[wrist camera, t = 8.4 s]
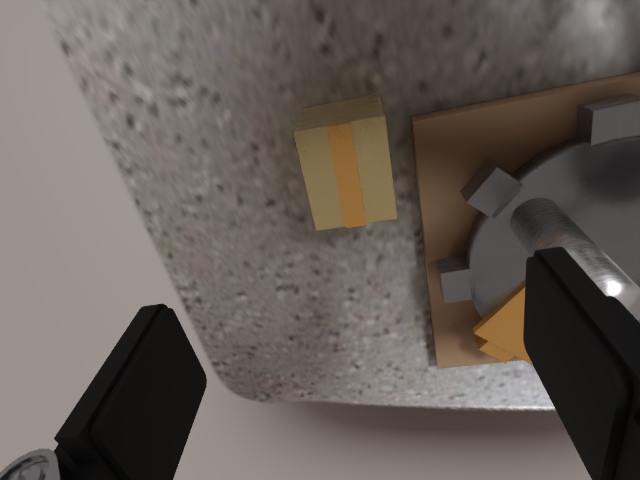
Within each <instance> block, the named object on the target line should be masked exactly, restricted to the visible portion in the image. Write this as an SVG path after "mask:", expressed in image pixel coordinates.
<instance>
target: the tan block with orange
mask: <svg viewBox="0 0 640 480" xmlns="http://www.w3.org/2000/svg"><path fill="white" fill-rule="evenodd" d="M293 134H294V138H295V142H296V147H297V151H298V155H299V160H300V164H301V168H302V173H303V177H304V181H305V185H306V190H307V194H308V198H309V203H310V207H311V211H312V215H313V220H314V224H315V228H316V231H318V230H325V229H332V228H339V227H346V228H352V227H359V226H366V223H373V222H380V221H387V220H394V219H397V212H396V203H395V195H394V186H393V178H392V169H391V161H390V152H389V144H388V135H387V127H386V118H385V113H384V110H383V107H382V104H381V100H380V97H379V94H374V95H369V96H364V97H359V98H353V99H348V100H343V101H338V102H333V103H328V104H322V105H317V106H312V107H307V108H303V109H302V111H301V114H300V116H299V119H298V121H297V124H296V126H295V129H294V131H293Z"/></svg>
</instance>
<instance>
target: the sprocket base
mask: <svg viewBox="0 0 640 480" xmlns="http://www.w3.org/2000/svg"><path fill="white" fill-rule="evenodd" d="M625 93H632V94H635V95H638V96H640V71H638V72H633V73H628V74H623V75H618V76H613V77H608V78H603V79H598V80H593V81H588V82H583V83H578V84H573V85H568V86H563V87H558V88H552V89H547V90H542V91H537V92H532V93H527V94H522V95H517V96H512V97H507V98H502V99H497V100H492V101H487V102H482V103H477V104H472V105H467V106H461V107H456V108H451V109H446V110H441V111H436V112H431V113H426V114H421V115H416V116H411V117H410V119H411V129H412V138H413V148H414V158H415V167H416V177H417V187H418V196H419V206H420V216H421V225H422V235H423V245H424V254H425V264H426V274H427V283H428V293H429V303H430V312H431V322H432V332H433V341H434V351H435V359H436V363H437V367H438V369H439V368H448V367H458V366H468V365H477V364H487V363H497V362H502V361H500V360H498V359H496V358H494V357H492V356H490V355H488V354H487V353H485V352H483V351H481V350H479V349H478V346H477V343H476V341H475V338H474V335H473V333H474V332H473V329H472V328H474V327H475V326H476V325H477V324H478V323H479V322H480V321H481V320H482V318H481V316H480V314H479V313H478V311H477V309H476V307H475V305H474V302H473V300H472V299H471V300H465V301H458V302H452V303H445V304H444V301H443V297H442V294H441V291H440V286H439V279H438V272H437V264H436V260H438V259H444V258H450V257H455V256H461V255H464V250H465V244H466V240H467V237H468V234H469V231H470V228H471V226H472V224H473V222H474V220H475V218H476V216H477V214H478V213H479V210H478V209H476V208H475V207H473V206H471V205H470V204H468V203H466V201H465V199H464V197H463V196H462V194H461V192H460V190H461V189H462V188H463V187H464V186H465V185H466V183H467V182H468V181H469V180H470V179H471V178H472V176H473V175H474V174H475V173H476V172H477V171H478V169H479V168H480V167H481V166H482V165H483V164H484V162H485V161H486V160H487V159H488V158H490V159H492V160H493V161H495V162H496V163H498V164H499V165H501V166H503V167H504V168H506V169H507V170H509V171H510V172H512V173H513V172H514V171H516V170H517V169H518V168H519V167H521V166H522V165H523V164H524V163H526V162H528V161H529V160H531V159H532V158H534V157H535V156H537V155H538V154H540V153H542V152H543V151H545V150H547V149H549V148H551V147H553V146H555V145H557V144H559V143H561V142H564V141H566V140H569V139H572V138H574V137H576V132H577V114H578V104H581V103H585V102H590V101H594V100H599V99H603V98H608V97H612V96H617V95H621V94H625ZM516 360H523V359H521V358H519V357H518V356H516V355H515V356H514V357H513V358H511V359H510V360H509V361H516Z"/></svg>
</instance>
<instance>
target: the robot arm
mask: <svg viewBox="0 0 640 480" xmlns="http://www.w3.org/2000/svg"><path fill="white" fill-rule="evenodd" d="M523 341H524V346H525V349H526V352H527V354H528V356H529V358H530V360H531V362H532V364H533V366H534V368H535V370H536V372H537V374H538V376H539V378H540V379H541V381H542V383H543V385H544V387H545V389H546V391H547V393H548V395H549V397H550V399H551V401H552V403H553V405H554V407H555V409H556V411H557V413H558V414H559V416H560V418H561V420H562V422H563V424H564V426H565V428H566V430H567V432H568V434H569V436H570V438H571V440H572V442H573V443H574V446H575V448H576V449H577V451H578V453H579V455H580V457H581V459H582V461H583V463H584V465H585V467H586V469H587V471H588V473H589V475H590V477H591V478H592V480H640V323H639V322H638V321H637V319H636V318H635V317H634V316H633V315H632V314H631V313H630V312H629V311H628V310H627V308H626V307H625V306H624V305H623V304H622V303H621V302H620V301H619V300H618V299H617V298H615V297H613V296H606V295H605V294H604V293H603V292H602V291H601V289H600V288H599V287H598V286H597V285H596V284H595V283H594V281H593V280H592V279H591V278H590V277H589V276H588V275H587V274H586V272H585V271H584V270H583V269H582V268H581V267H580V266H579V264H578V263H577V262H576V261H575V260H574V259H573V258H572V257H571V255H570V254H569V253H568V252H567V251H566V250H565V249H564V248H563V247H553V248H546V249H539V250H536V251H535V252H534V255H533V256H532V257H528V258H527V260H526V280H525V305H524V330H523ZM206 381H207V379H206V375H205V372H204V370H203V368H202V366H201V364H200V362H199V360H198V358H197V356H196V354H195V352H194V350H193V348H192V346H191V344H190V342H189V340H188V338H187V336H186V334H185V332H184V330H183V328H182V326H181V324H180V322H179V320H178V318H177V316H176V314H175V312H174V311H173V309H171V308H168V307H167V306H166V305H164V304H158V305H150V306H144V307H142V308H141V309H140V310H139V312H138V313H137V314H136V316H135V317H134V319H133V320H132V322H131V323H130V325H129V326H128V328H127V329H126V331H125V332H124V334H123V335H122V337H121V338H120V340H119V341H118V343H117V344H116V346H115V347H114V349H113V350H112V352H111V354H110V355H109V356H108V358H107V359H106V361H105V362H104V364H103V365H102V367H101V368H100V370H99V372H98V373H97V374H96V376H95V377H94V379H93V381H92V382H91V384H90V385H89V387H88V388H87V390H86V391H85V393H84V394H83V396H82V397H81V399H80V400H79V402H78V403H77V405H76V406H75V408H74V409H73V411H72V412H71V414H70V415H69V417H68V418H67V420H66V421H65V423H64V424H63V426H62V427H61V429H60V430H59V432H58V433H57V435H56V436H55V438H54V439H55V440H56V441H57V442H58V446H57V447H56V449H55V450H54V451H52V450H49V449H38V450H34V451H31V452H29V453H27V454H25V455H23V456H21V457H19V458H17V459H16V460H15V461H13V462H12V463H10V464H9V465H8V466H7V467H6V468H5V469H4V470H2V472H0V480H173V478H174V475H175V472H176V469H177V467H178V464H179V461H180V458H181V455H182V453H183V450H184V447H185V444H186V442H187V439H188V435H189V433H190V430H191V428H192V424H193V422H194V419H195V416H196V413H197V411H198V408H199V405H200V402H201V400H202V397H203V394H204V391H205V388H206V383H207V382H206Z"/></svg>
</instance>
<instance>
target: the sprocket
mask: <svg viewBox="0 0 640 480" xmlns="http://www.w3.org/2000/svg"><path fill="white" fill-rule="evenodd" d="M460 192H461V194H462V196H463V197H464V199H465V201H466V203H468V204H470V205H471V206H473V207H475V208H476V209H478V210H479V213H478V214H477V216H476V218H475V220H474V222H473V224H472V226H471V228H470V231H469V234H468V237H467V240H466V244H465V250H464V255H461V256H455V257H450V258H444V259H438V260H436V264H437V272H438V279H439V286H440V291H441V294H442V297H443V301H444V304H445V303H452V302H458V301H465V300H471V299H472V300H473V302H474V305H475V307H476V309H477V311H478V313H479V314H480V316H481V318H482V320H481V321H480V322H479V323H478V324H477V325H476V326H475V327H474V328H472V329H473V332H474V333H473V335H474V338H475V341H476V343H477V346H478V349H479V350H481V351H483V352H485V353H487V354H488V355H490V356H492V357H494V358H496V359H498V360H500V361H502V362H504V363H506V362H508V361H509V360H510V359H511V358H513V357H514V356H515V355H516V356H518V357H519V358H521V359H523V360H525V361H527V362H529V363H531V364H532V362H531V360H530V358H529V356H528V354H527V352H526V349H525V346H524V341H523V330H524V305H525V280H526V260H527V258H528V257H532V256H533V255H534V252H535V251H536V250H539V249H546V248H553V247H563V248H564V249H565V250H566V251H567V252H568V253H569V254H570V255H571V257H572V258H573V259H574V260H575V261H576V262H577V263H578V264H579V266H580V267H581V268H582V269H583V270H584V271H585V272H586V274H587V275H588V276H589V277H590V278H591V279H592V280H593V281H594V283H595V284H596V285H597V286H598V287H599V288H600V289H601V291H602V292H603V293H604V294H605V295H606V296H613V297H615V298H617V299H618V300H619V301H620V302H621V303H622V304H623V305H624V306H625V307H626V308H627V310H628V311H629V312H630V313H631V314H632V315H633V316H634V317H635V318H636V319H637V321H638V322H639V323H640V96H638V95H635V94H632V93H625V94H621V95H617V96H612V97H608V98H603V99H599V100H594V101H590V102H585V103H581V104H578V114H577V132H576V137H574V138H572V139H569V140H566V141H564V142H561V143H559V144H557V145H555V146H553V147H551V148H549V149H547V150H545V151H543V152H542V153H540V154H538V155H537V156H535V157H534V158H532V159H531V160H529V161H528V162H526V163H524V164H523V165H522V166H521V167H519V168H518V169H517V170H516V171H514V172H513V173H512V172H510V171H509V170H507V169H506V168H504V167H503V166H501V165H499V164H498V163H496V162H495V161H493V160H492V159H490V158H488V159H487V160H486V161H485V162H484V164H483V165H482V166H481V167H480V168H479V169H478V171H477V172H476V173H475V174H474V175H473V176H472V178H471V179H470V180H469V181H468V182H467V183H466V185H465V186H464V187H463V188H462V189H461V190H460Z"/></svg>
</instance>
